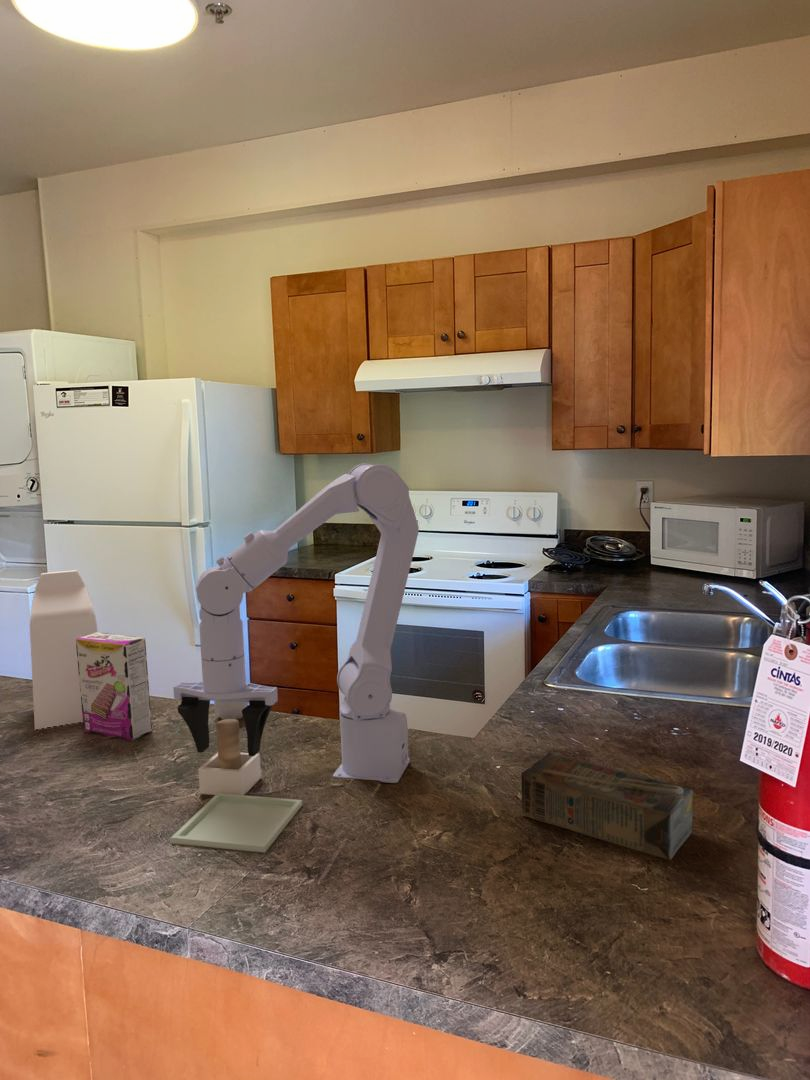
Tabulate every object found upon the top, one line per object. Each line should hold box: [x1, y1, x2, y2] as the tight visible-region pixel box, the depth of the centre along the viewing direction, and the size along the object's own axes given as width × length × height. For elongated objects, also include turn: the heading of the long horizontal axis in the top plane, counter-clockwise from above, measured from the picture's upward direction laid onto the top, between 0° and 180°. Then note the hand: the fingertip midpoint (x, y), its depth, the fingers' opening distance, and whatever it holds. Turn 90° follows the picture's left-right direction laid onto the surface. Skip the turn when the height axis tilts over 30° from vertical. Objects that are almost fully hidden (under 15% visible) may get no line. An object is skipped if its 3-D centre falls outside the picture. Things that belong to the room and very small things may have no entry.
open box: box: [197, 751, 262, 796], centre depth 109 cm, size 6×6×4 cm
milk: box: [29, 569, 98, 731], centre depth 141 cm, size 12×12×26 cm
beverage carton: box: [521, 752, 694, 861], centre depth 96 cm, size 8×19×7 cm, turn 53°
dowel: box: [215, 719, 241, 770], centre depth 109 cm, size 3×3×9 cm
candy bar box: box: [76, 632, 153, 741], centre depth 132 cm, size 11×5×16 cm, turn 65°
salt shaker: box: [213, 701, 249, 720], centre depth 138 cm, size 6×6×13 cm
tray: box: [170, 793, 303, 854], centre depth 98 cm, size 12×12×1 cm
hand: (228, 751), depth 109 cm, fingers open, 7 cm apart
